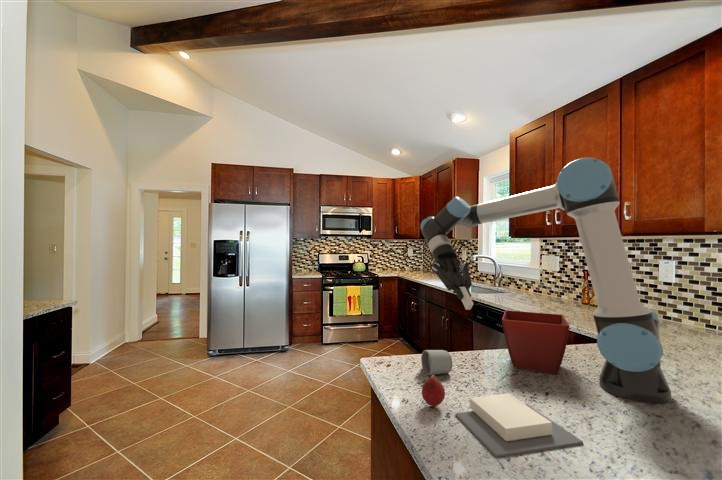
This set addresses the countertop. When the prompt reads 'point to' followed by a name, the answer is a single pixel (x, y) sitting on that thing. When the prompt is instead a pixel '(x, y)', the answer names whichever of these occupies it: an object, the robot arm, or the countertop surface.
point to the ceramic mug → (436, 362)
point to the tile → (510, 417)
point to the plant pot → (535, 340)
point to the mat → (519, 446)
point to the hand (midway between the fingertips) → (469, 306)
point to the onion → (433, 392)
